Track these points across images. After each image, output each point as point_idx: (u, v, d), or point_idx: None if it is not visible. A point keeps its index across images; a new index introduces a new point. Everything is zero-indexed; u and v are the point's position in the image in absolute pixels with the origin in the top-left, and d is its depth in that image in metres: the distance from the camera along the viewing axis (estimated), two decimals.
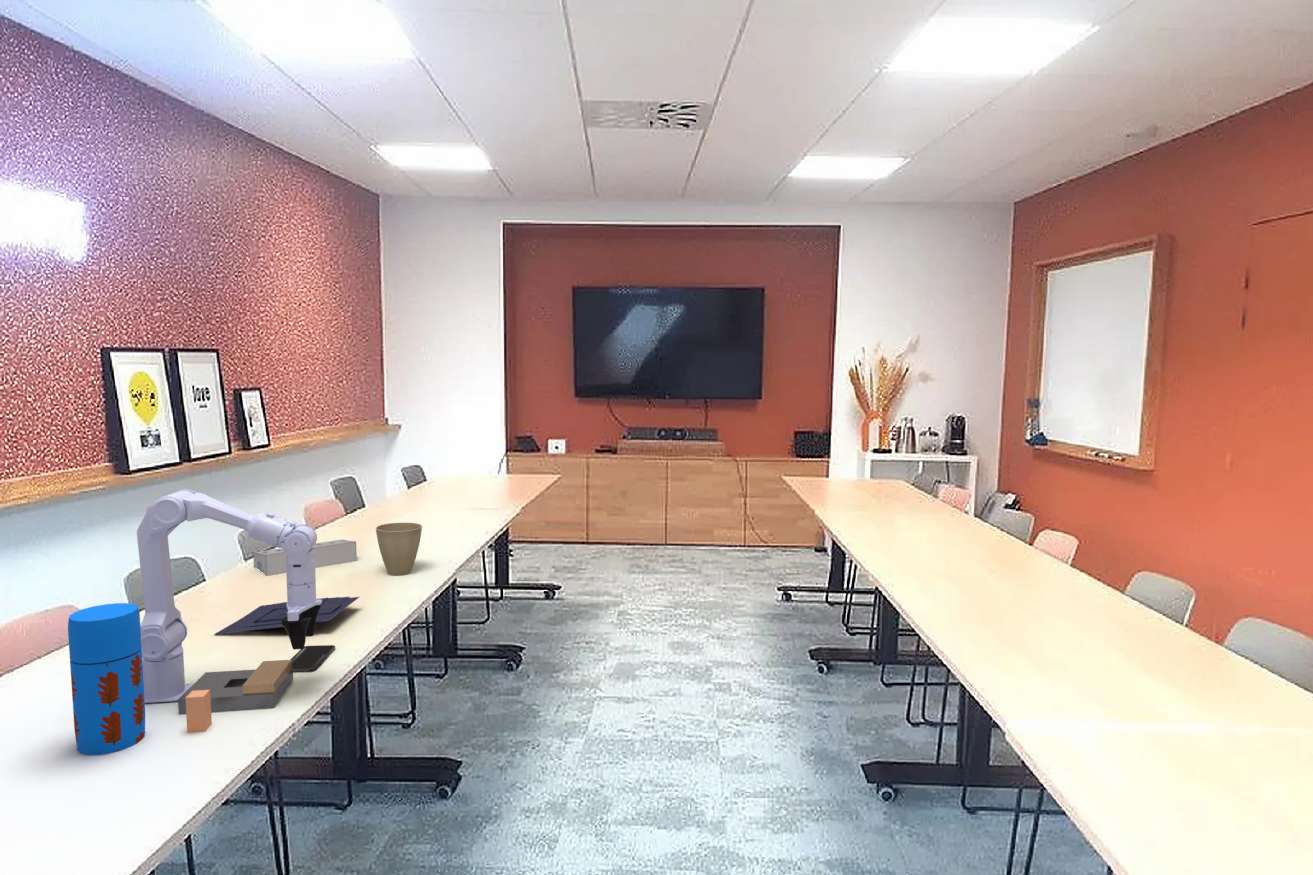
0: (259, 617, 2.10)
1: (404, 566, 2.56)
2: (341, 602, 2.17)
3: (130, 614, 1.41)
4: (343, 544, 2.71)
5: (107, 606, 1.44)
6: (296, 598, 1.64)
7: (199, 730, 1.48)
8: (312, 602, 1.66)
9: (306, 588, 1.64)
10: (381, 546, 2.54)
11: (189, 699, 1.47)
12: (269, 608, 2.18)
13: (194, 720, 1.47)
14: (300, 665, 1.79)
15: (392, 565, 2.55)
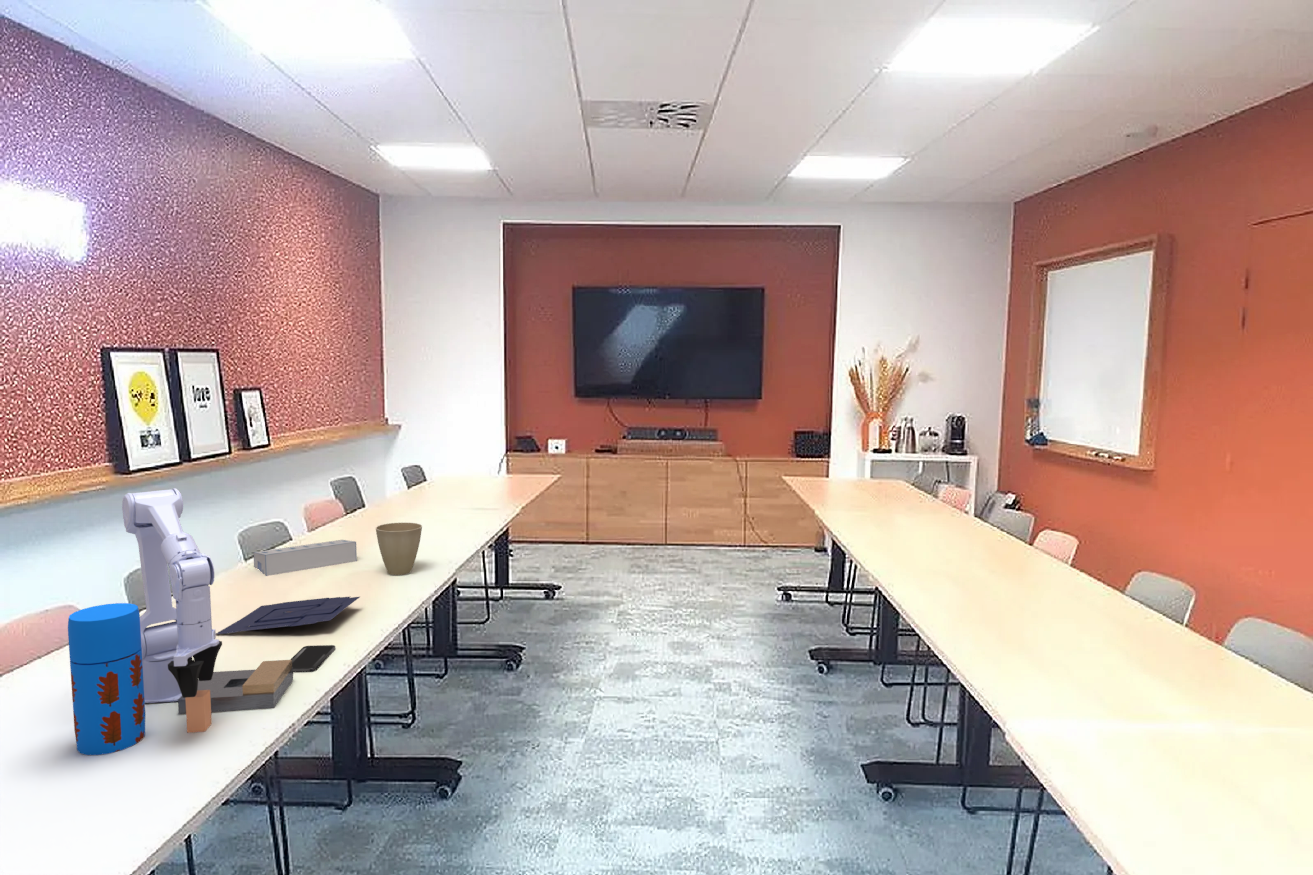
0: (260, 617, 2.10)
1: (404, 566, 2.56)
2: (342, 602, 2.16)
3: (130, 614, 1.41)
4: (343, 544, 2.70)
5: (107, 606, 1.44)
6: (186, 640, 1.45)
7: (199, 730, 1.48)
8: (206, 643, 1.47)
9: (198, 628, 1.45)
10: (381, 546, 2.54)
11: (189, 699, 1.47)
12: (270, 608, 2.18)
13: (194, 720, 1.47)
14: (300, 665, 1.79)
15: (392, 565, 2.55)
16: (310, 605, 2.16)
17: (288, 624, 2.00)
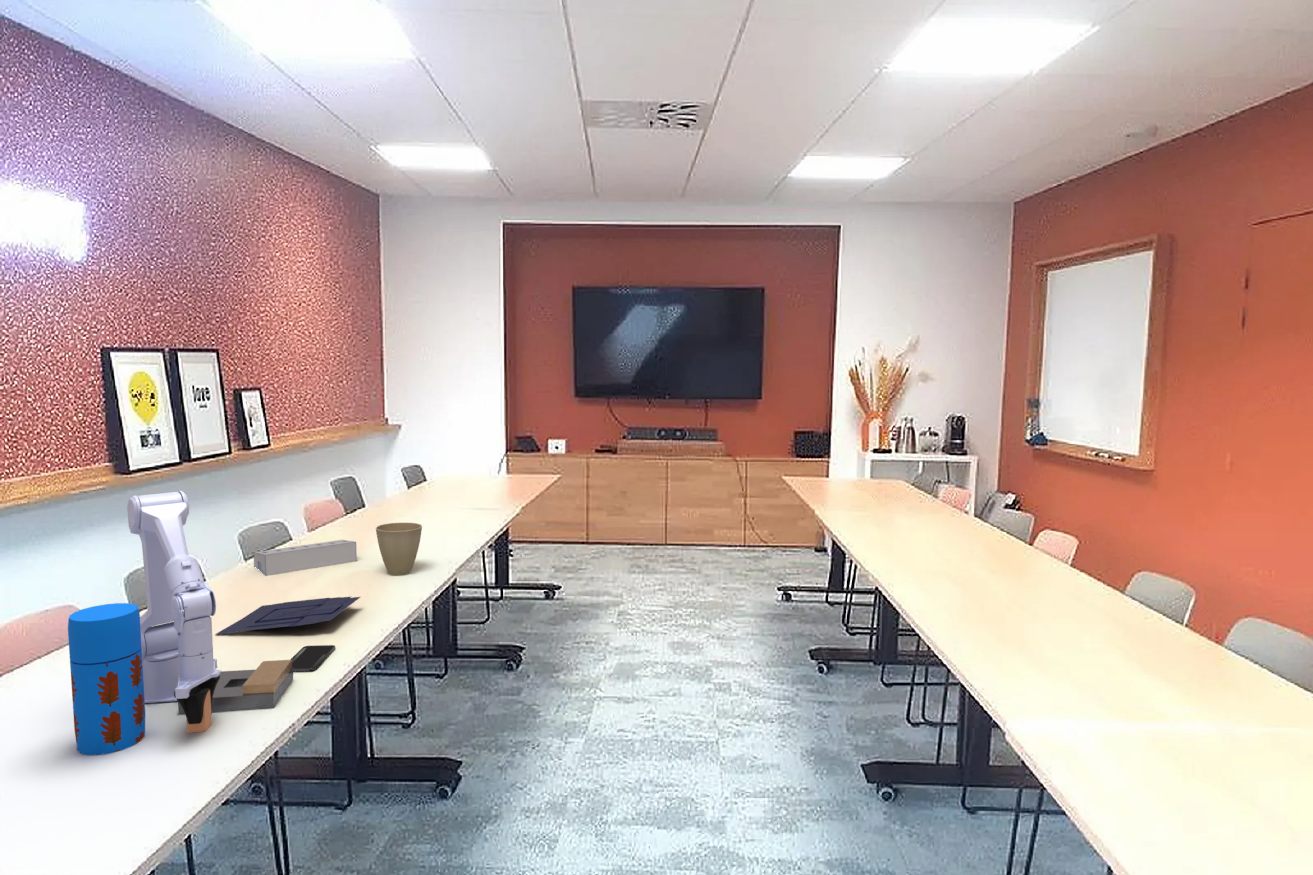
0: (260, 617, 2.10)
1: (404, 566, 2.56)
2: (342, 602, 2.16)
3: (130, 614, 1.41)
4: (343, 544, 2.70)
5: (107, 606, 1.44)
6: (188, 671, 1.45)
7: (199, 730, 1.48)
8: (208, 674, 1.47)
9: (200, 659, 1.46)
10: (381, 546, 2.54)
11: None
12: (270, 608, 2.18)
13: None
14: (300, 665, 1.79)
15: (392, 565, 2.55)
16: (311, 605, 2.16)
17: (288, 624, 2.00)
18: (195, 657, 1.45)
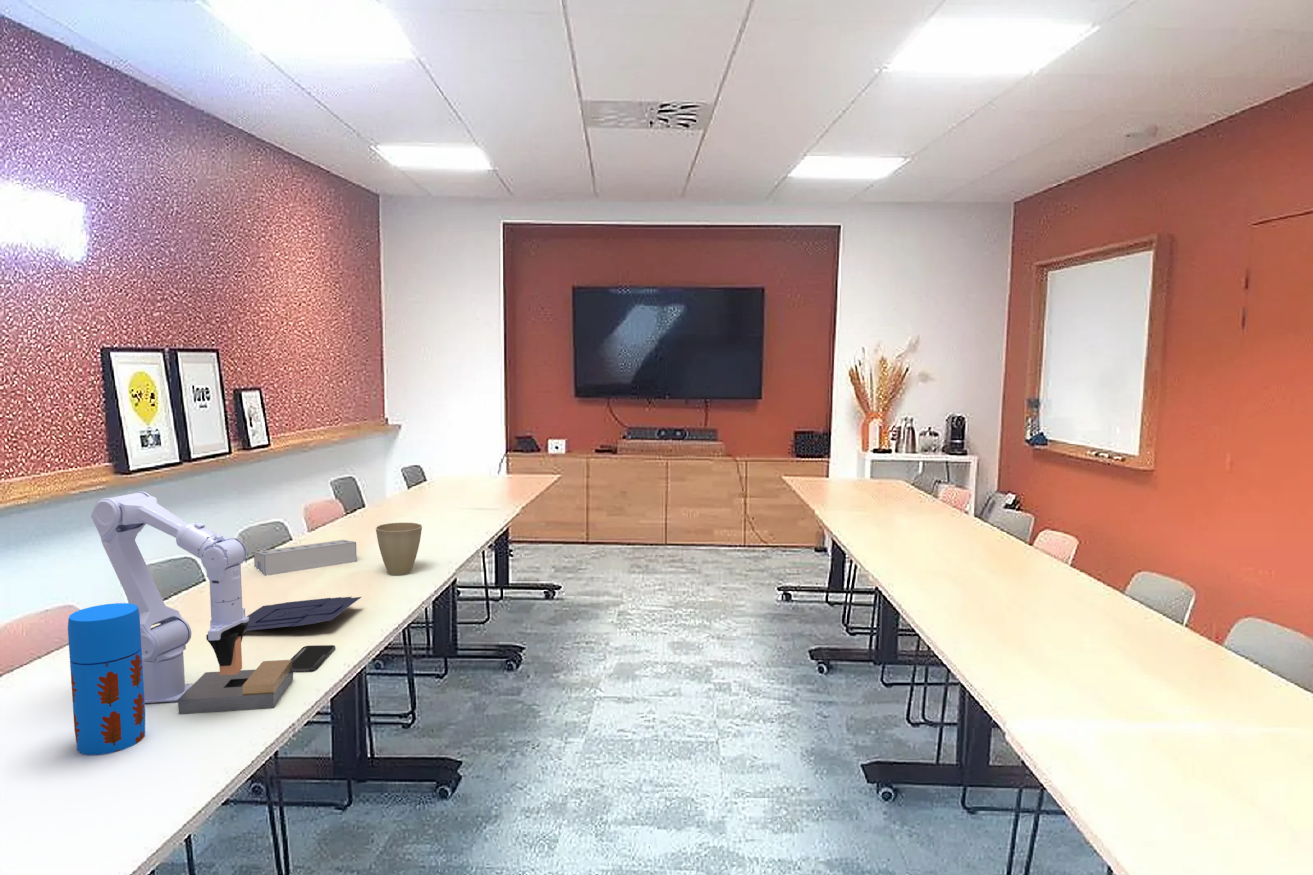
0: (261, 617, 2.10)
1: (404, 566, 2.56)
2: (343, 602, 2.16)
3: (130, 614, 1.41)
4: (343, 545, 2.70)
5: (107, 606, 1.44)
6: (219, 616, 1.56)
7: (231, 673, 1.58)
8: (237, 620, 1.58)
9: (230, 605, 1.56)
10: (381, 546, 2.54)
11: None
12: (271, 608, 2.18)
13: None
14: (300, 665, 1.79)
15: (392, 565, 2.55)
16: (311, 605, 2.15)
17: (289, 624, 2.00)
18: (226, 603, 1.56)
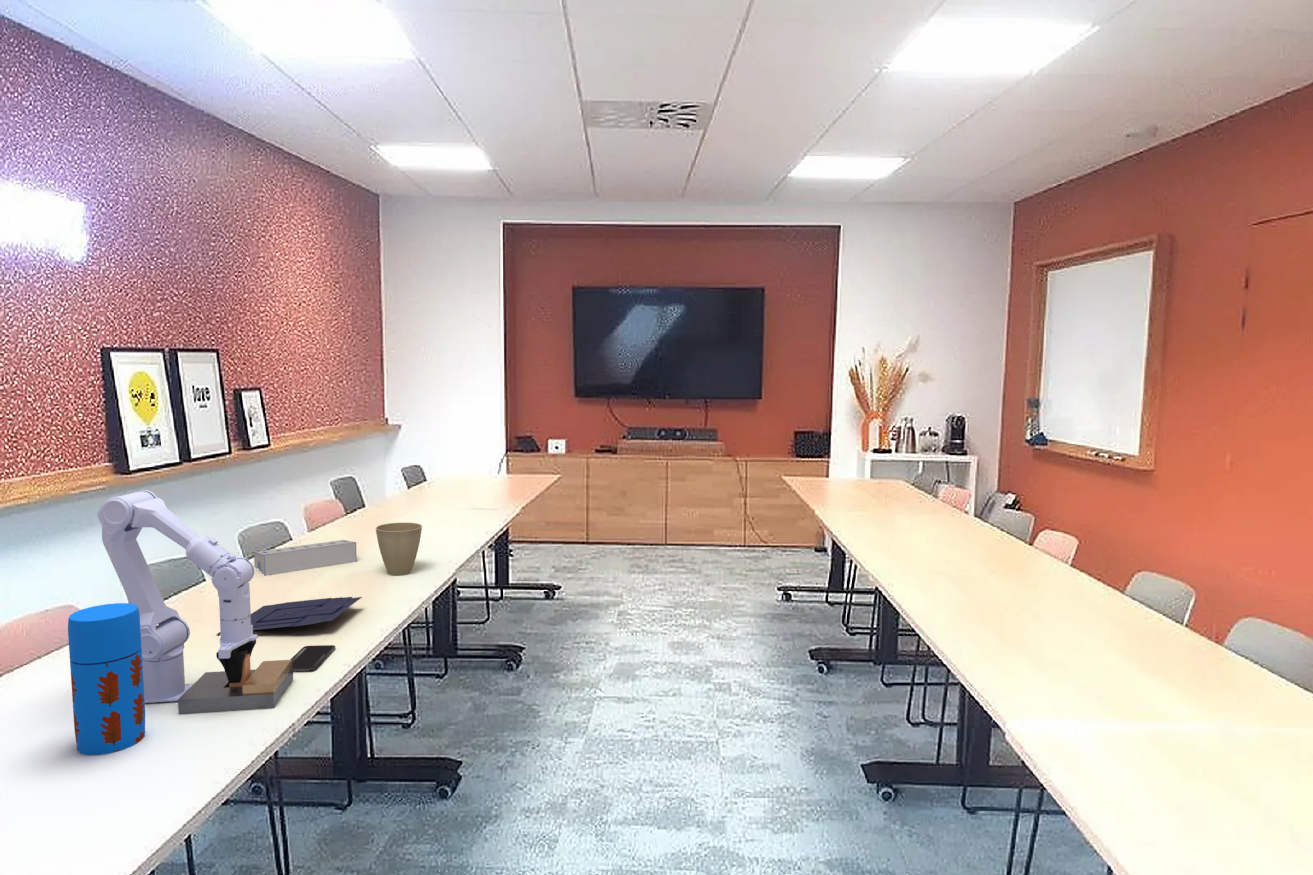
0: (261, 617, 2.10)
1: (404, 566, 2.56)
2: (343, 602, 2.16)
3: (130, 614, 1.41)
4: (343, 545, 2.70)
5: (107, 606, 1.44)
6: (229, 634, 1.59)
7: None
8: (246, 638, 1.61)
9: (240, 624, 1.60)
10: (381, 546, 2.54)
11: None
12: (272, 608, 2.18)
13: None
14: (300, 665, 1.79)
15: (392, 565, 2.55)
16: (312, 605, 2.15)
17: (289, 624, 2.00)
18: (235, 622, 1.59)
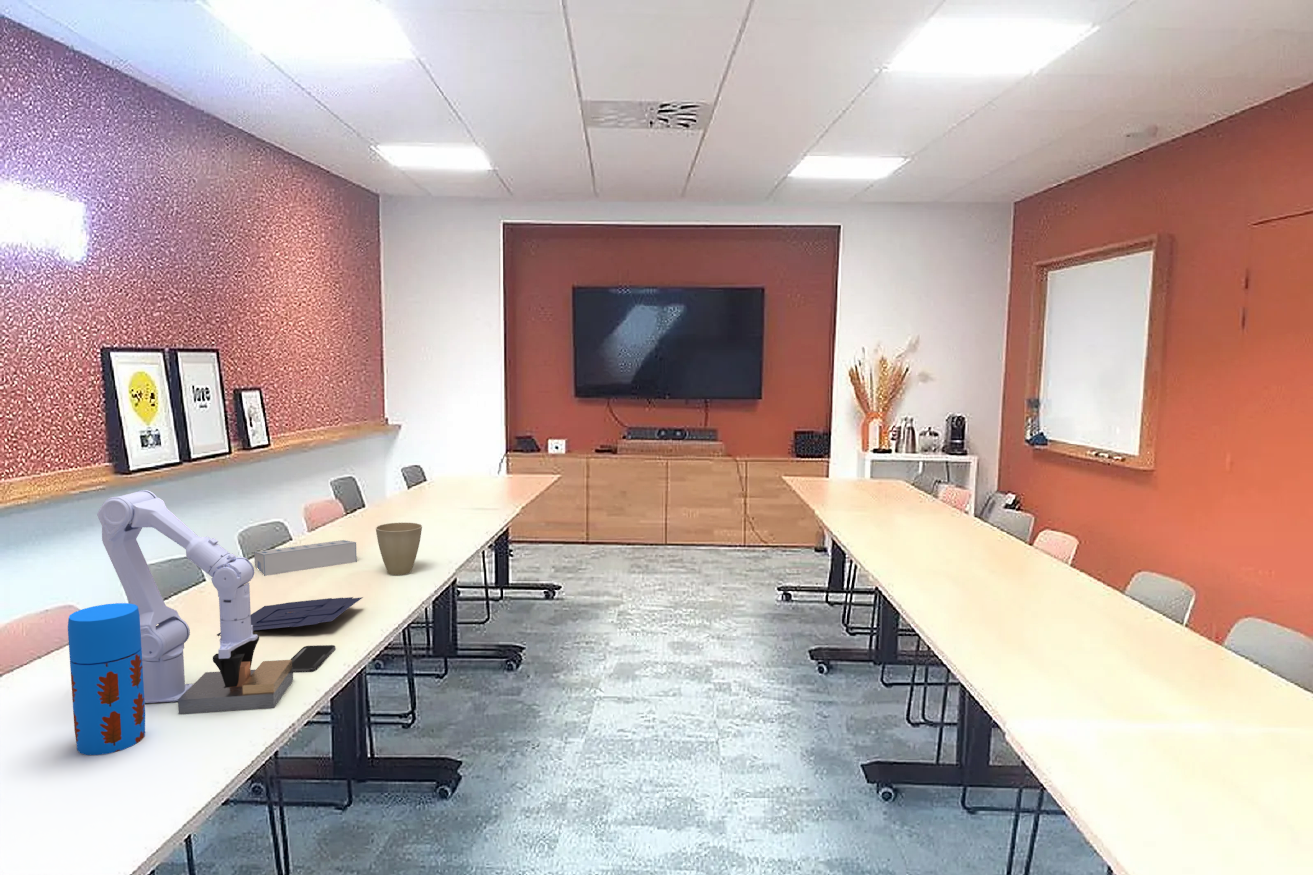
0: (262, 617, 2.10)
1: (404, 566, 2.56)
2: (344, 603, 2.16)
3: (130, 614, 1.41)
4: (343, 545, 2.70)
5: (107, 606, 1.44)
6: (229, 634, 1.59)
7: None
8: (246, 638, 1.61)
9: (240, 624, 1.60)
10: (381, 546, 2.54)
11: None
12: (272, 608, 2.18)
13: None
14: (300, 665, 1.79)
15: (392, 565, 2.55)
16: (312, 606, 2.15)
17: (290, 625, 2.00)
18: (235, 622, 1.59)
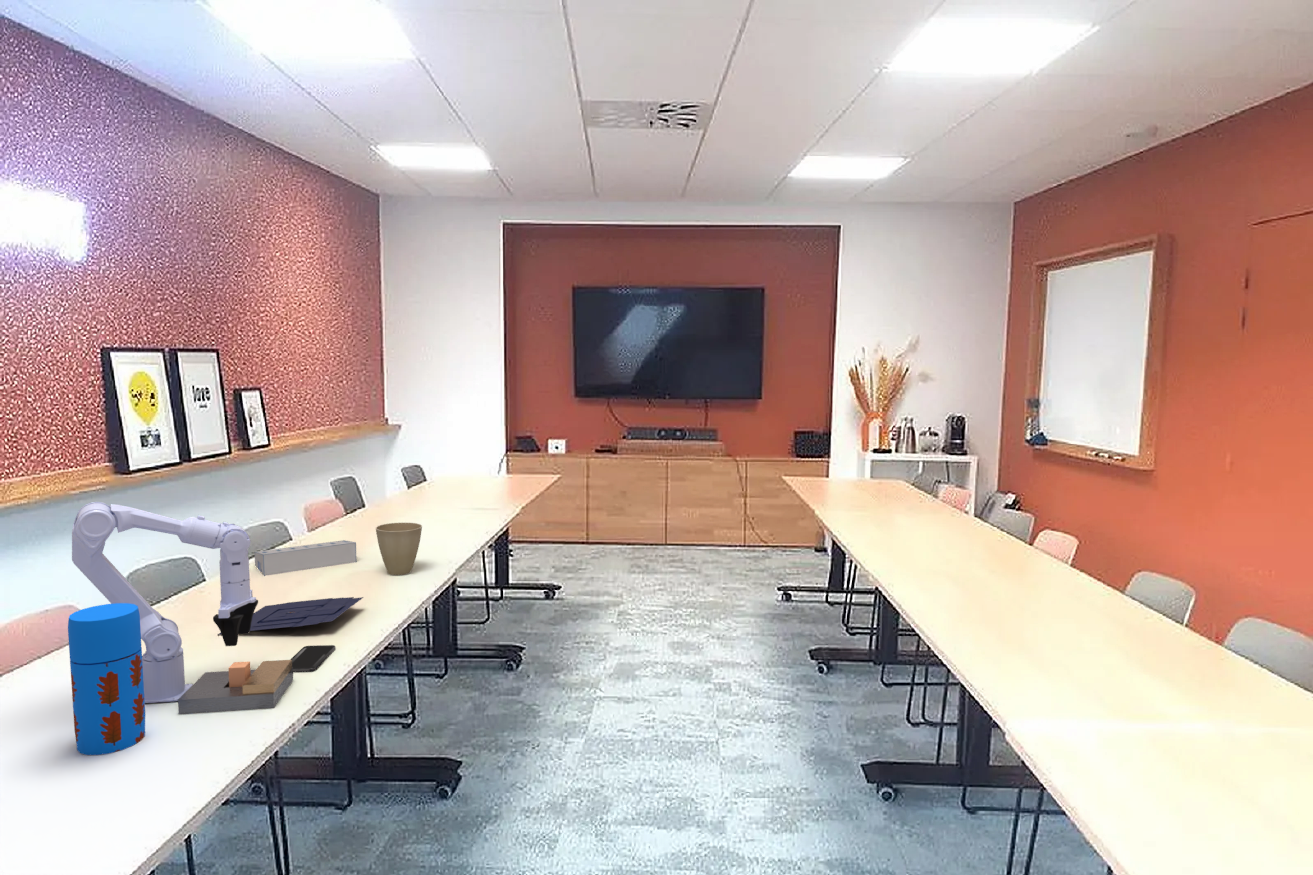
0: (263, 617, 2.10)
1: (404, 566, 2.56)
2: (345, 603, 2.16)
3: (130, 614, 1.41)
4: (342, 545, 2.69)
5: (107, 606, 1.44)
6: (229, 596, 1.67)
7: None
8: (245, 600, 1.69)
9: (239, 586, 1.68)
10: (381, 546, 2.54)
11: (231, 669, 1.61)
12: (273, 608, 2.18)
13: None
14: (300, 665, 1.79)
15: (392, 565, 2.55)
16: (313, 605, 2.15)
17: (290, 625, 2.00)
18: (235, 584, 1.67)
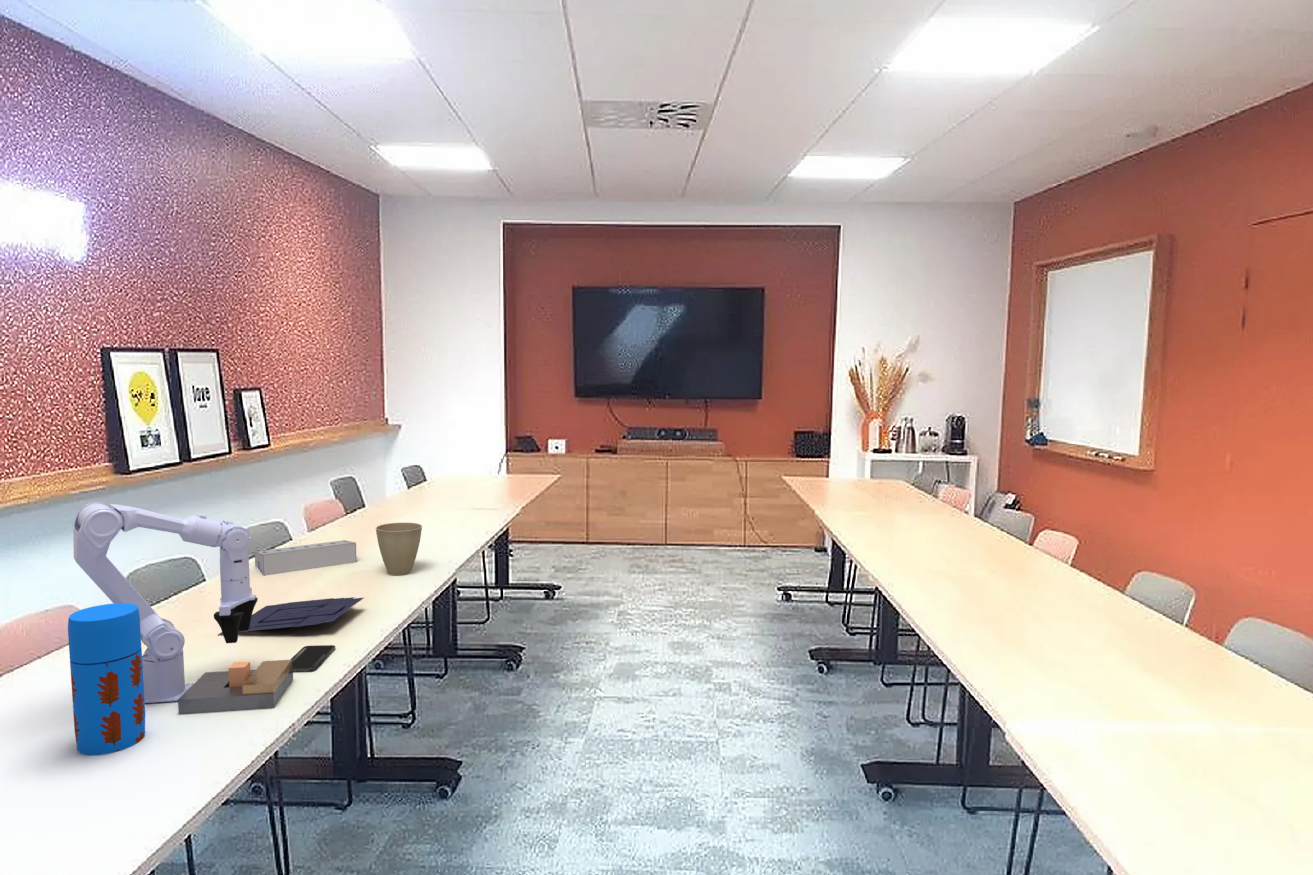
0: (263, 617, 2.10)
1: (404, 566, 2.56)
2: (345, 603, 2.16)
3: (130, 614, 1.41)
4: (342, 545, 2.69)
5: (107, 606, 1.44)
6: (229, 594, 1.69)
7: None
8: (245, 597, 1.71)
9: (239, 584, 1.69)
10: (381, 546, 2.54)
11: (231, 669, 1.61)
12: (274, 608, 2.18)
13: None
14: (300, 665, 1.79)
15: (392, 565, 2.55)
16: (314, 606, 2.15)
17: (291, 625, 2.00)
18: (235, 582, 1.69)
